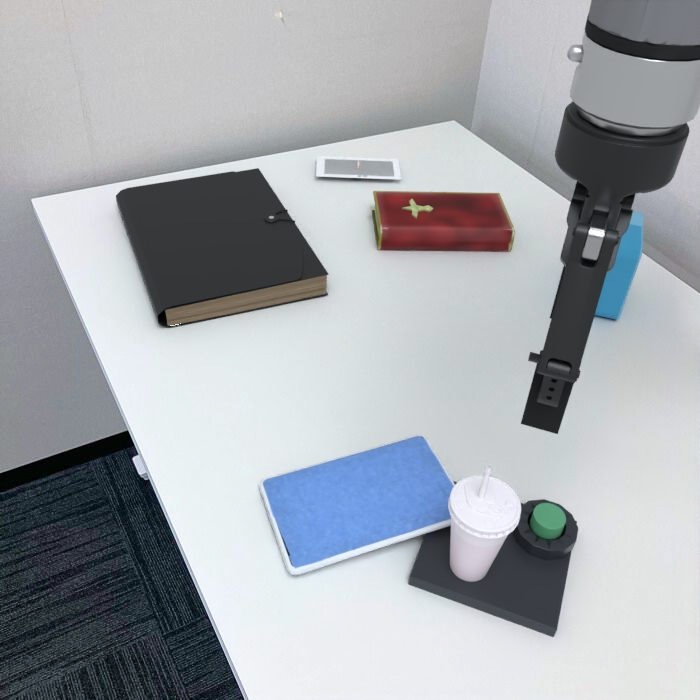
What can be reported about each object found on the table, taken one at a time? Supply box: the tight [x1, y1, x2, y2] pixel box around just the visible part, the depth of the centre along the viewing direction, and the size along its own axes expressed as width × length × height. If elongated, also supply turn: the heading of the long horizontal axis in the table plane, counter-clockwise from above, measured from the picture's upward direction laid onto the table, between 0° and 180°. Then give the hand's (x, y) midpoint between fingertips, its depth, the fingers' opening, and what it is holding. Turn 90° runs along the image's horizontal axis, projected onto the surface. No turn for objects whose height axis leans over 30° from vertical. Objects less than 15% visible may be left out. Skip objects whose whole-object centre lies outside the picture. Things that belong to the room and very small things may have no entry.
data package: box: [594, 210, 645, 321], centre depth 106 cm, size 12×4×12 cm, turn 163°
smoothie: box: [448, 463, 522, 582], centre depth 68 cm, size 6×6×14 cm
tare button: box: [530, 503, 566, 539], centre depth 74 cm, size 3×3×2 cm
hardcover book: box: [371, 190, 516, 253], centre depth 120 cm, size 12×21×4 cm, turn 93°
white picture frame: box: [315, 155, 402, 181], centre depth 134 cm, size 8×15×2 cm, turn 91°
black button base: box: [407, 480, 579, 638], centre depth 74 cm, size 14×13×3 cm
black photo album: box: [115, 167, 329, 328], centre depth 113 cm, size 33×4×24 cm
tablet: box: [259, 434, 455, 576], centre depth 77 cm, size 19×13×1 cm, turn 110°
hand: (553, 368), depth 60 cm, fingers open, 13 cm apart
